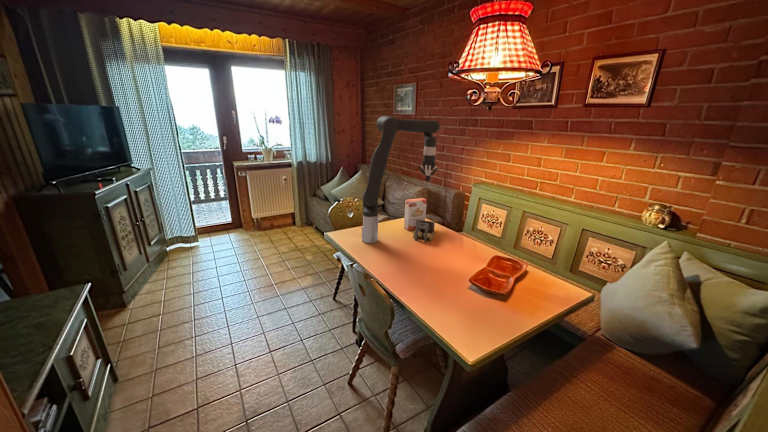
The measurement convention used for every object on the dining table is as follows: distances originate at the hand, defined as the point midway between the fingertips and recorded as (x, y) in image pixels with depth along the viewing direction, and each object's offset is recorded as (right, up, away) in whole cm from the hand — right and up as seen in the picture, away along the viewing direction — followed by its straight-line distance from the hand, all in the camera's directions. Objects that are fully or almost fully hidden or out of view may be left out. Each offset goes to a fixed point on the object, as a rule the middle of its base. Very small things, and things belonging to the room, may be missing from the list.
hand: (427, 181), depth 191 cm
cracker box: (-7, -31, +18) cm, 36 cm away
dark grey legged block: (-3, -37, 0) cm, 37 cm away
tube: (-3, -37, +1) cm, 37 cm away
